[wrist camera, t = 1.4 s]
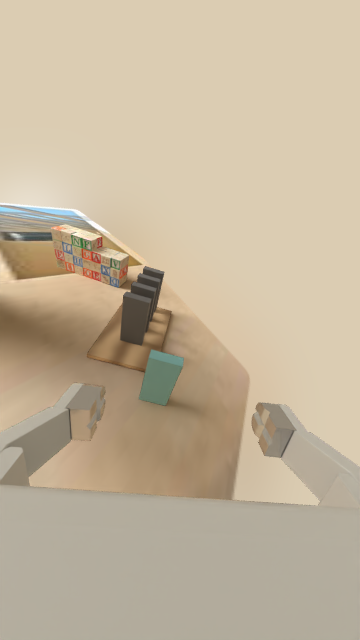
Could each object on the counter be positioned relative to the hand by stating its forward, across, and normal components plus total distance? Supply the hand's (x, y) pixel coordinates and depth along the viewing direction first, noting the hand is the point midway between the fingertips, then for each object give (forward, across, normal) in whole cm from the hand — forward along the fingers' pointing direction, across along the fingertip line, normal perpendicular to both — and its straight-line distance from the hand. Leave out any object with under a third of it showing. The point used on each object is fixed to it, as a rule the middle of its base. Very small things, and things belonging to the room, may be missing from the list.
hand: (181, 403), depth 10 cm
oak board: (+35, +9, +12) cm, 38 cm away
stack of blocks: (+56, +28, +2) cm, 62 cm away
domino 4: (+30, +9, +12) cm, 34 cm away
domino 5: (+19, +2, +18) cm, 26 cm away
